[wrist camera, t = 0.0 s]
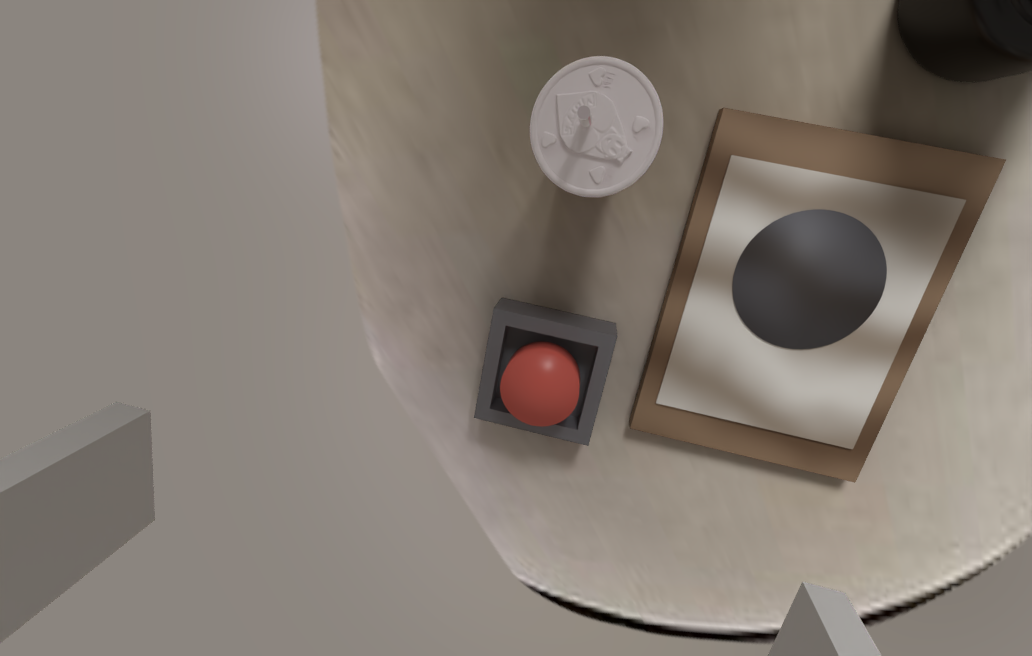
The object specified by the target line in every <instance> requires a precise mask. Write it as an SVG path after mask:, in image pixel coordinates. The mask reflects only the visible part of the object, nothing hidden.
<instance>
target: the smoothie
mask: <svg viewBox="0 0 1032 656" xmlns="http://www.w3.org/2000/svg"><path fill="white" fill-rule="evenodd" d="M662 134H663V112H662V106H661V103H660V99H659V97H658V94H657V92H656V90H655V88H654V87H653V85H652V83H651V82H650V81H649V79H648V78H647V77H646V76H645V75H644V74H643V73H642V72H641V71H640V70H639V69H637V68H636V67H635V66H633V65H631V64H630V63H628V62H626V61H623V60H621V59H618V58H614V57H608V56H592V57H587V58H583V59H579V60H577V61H574V62H572V63H570V64H568V65H566V66H565V67H563V68H562V69H560V70H559V71H558V72H557V73H555V74H554V75H553V76H552V77H551V78H550V79H549V80H548V82H547V83H546V84H545V85H544V87H543V88H542V90H541V92H540V93H539V95H538V97H537V99H536V102H535V104H534V107H533V110H532V115H531V121H530V140H531V146H532V150H533V153H534V156H535V158H536V161H537V163H538V165H539V166H540V168H541V169H542V171H543V172H544V174H545V175H546V176H547V177H548V178H549V179H550V180H551V181H552V182H553V183H554V184H556V185H557V186H558V187H560V188H562V189H563V190H565V191H566V192H569V193H572V194H575V195H578V196H581V197H598V198H599V197H604V196H608V195H612V194H616V193H618V192H620V191H622V190H624V189H626V188H628V187H630V186H631V185H632V184H634V183H635V182H636V181H637V180H638V179H639V178H640V177H641V176H642V175H644V174H645V172H646V171H647V169H648V168H649V166H650V165H651V163H652V162H653V160H654V159H655V156H656V154H657V152H658V149H659V146H660V143H661V139H662Z"/></svg>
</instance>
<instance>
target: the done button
mask: <svg viewBox="0 0 1032 656" xmlns="http://www.w3.org/2000/svg"><path fill="white" fill-rule="evenodd" d="M579 389H580V370H579V367H578V364H577V362H576V360H575V359H574V357H573V356H572V355H571V354H570V353H569V352H568V351H567V350H566V349H564V348H563V347H561V346H559V345H557V344H554V343H551V342H543V341H539V342H533V343H529V344H526V345H524V346H522V347H521V348H519V349H518V350H517V351H516V352H515V353H514V354H513V355H512V357H511V358H510V360H509V362H508V365H507V367H506V369H505V371H504V373H503V376H502V378H501V383H500V393H501V398H502V401H503V403H504V405H505V407H506V408H507V410H508V411H509V412H510V413H511V414H512V415H513V416H514V417H515V418H517V419H518V420H520V421H522V422H524V423H526V424H529V425H533V426H541V427H542V426H551V425H554V424H557V423H559V422H561V421H563V420H564V419H566V418H567V417H568V416H569V415H570V414H571V413H572V412H573V410H574V409H575V407H576V405H577V402H578V398H579Z"/></svg>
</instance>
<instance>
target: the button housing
mask: <svg viewBox="0 0 1032 656" xmlns="http://www.w3.org/2000/svg"><path fill="white" fill-rule="evenodd" d="M616 339H617V329H616V323H613V322H608V321H604V320H599V319H595V318H590V317H586V316H581V315H577V314H572V313H568V312H563V311H559V310H554V309H550V308H545V307H541V306H537V305H532V304H528V303H523V302H519V301H514V300H510V299H505V298H501V299H500V301H499V302H498V303H497V305H496V306H495V307H494V310H493V316H492V321H491V327H490V332H489V338H488V343H487V349H486V354H485V360H484V365H483V371H482V376H481V382H480V388H479V393H478V399H477V404H476V410H475V415H474V418H477V419H481V420H485V421H489V422H493V423H498V424H502V425H506V426H510V427H514V428H518V429H522V430H526V431H530V432H534V433H538V434H542V435H546V436H551V437H555V438H559V439H563V440H567V441H571V442H575V443H579V444H583V445H587V446H588V445H589V441H590V437H591V433H592V430H593V426H594V422H595V418H596V414H597V411H598V407H599V403H600V399H601V396H602V392H603V388H604V384H605V381H606V377H607V373H608V369H609V366H610V362H611V358H612V354H613V351H614V347H615V343H616ZM539 341H543V342H551V343H554V344H557V345H559V346H561V347H563V348H564V349H566V350H567V351H568V352H569V353H570V354H571V355H572V356H573V357H574V359H575V360H576V362H577V364H578V367H579V370H580V389H579V398H578V402H577V405H576V407H575V409H574V410H573V412H572V413H571V414H570V415H569V416H568V417H567V418H566V419H564V420H563V421H561V422H559V423H557V424H554V425H551V426H542V427H541V426H533V425H529V424H526V423H524V422H522V421H520V420H518V419H517V418H515V417H514V416H513V415H512V414H511V413H510V412H509V411H508V410H507V408H506V407H505V405H504V403H503V401H502V398H501V393H500V383H501V378H502V376H503V373H504V371H505V369H506V367H507V365H508V362H509V360H510V358H511V357H512V355H513V354H514V353H515V352H516V351H517V350H518V349H519V348H521V347H522V346H524V345H526V344H529V343H533V342H539Z"/></svg>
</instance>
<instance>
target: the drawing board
mask: <svg viewBox="0 0 1032 656" xmlns="http://www.w3.org/2000/svg"><path fill="white" fill-rule="evenodd" d="M1005 161H1006V160H1004V159H999V158H994V157H988V156H983V155H977V154H972V153H966V152H961V151H956V150H950V149H945V148H939V147H934V146H928V145H923V144H918V143H912V142H907V141H901V140H896V139H891V138H885V137H880V136H874V135H869V134H863V133H858V132H853V131H847V130H842V129H836V128H831V127H825V126H820V125H815V124H809V123H804V122H798V121H793V120H787V119H782V118H777V117H771V116H766V115H760V114H755V113H750V112H744V111H739V110H733V109H728V108H722V109H720V110H719V113H718V116H717V120H716V123H715V127H714V130H713V134H712V137H711V140H710V144H709V147H708V151H707V154H706V158H705V161H704V165H703V168H702V172H701V175H700V178H699V182H698V185H697V189H696V192H695V196H694V199H693V203H692V206H691V209H690V213H689V216H688V220H687V223H686V227H685V230H684V234H683V237H682V241H681V244H680V247H679V251H678V254H677V258H676V261H675V265H674V268H673V272H672V275H671V278H670V282H669V285H668V289H667V292H666V296H665V299H664V303H663V306H662V310H661V313H660V316H659V320H658V323H657V327H656V330H655V334H654V337H653V341H652V344H651V348H650V351H649V354H648V358H647V361H646V365H645V368H644V372H643V375H642V379H641V382H640V385H639V389H638V392H637V396H636V399H635V403H634V406H633V410H632V413H631V417H630V420H629V423H630V428H631V429H635V430H639V431H643V432H647V433H651V434H656V435H660V436H664V437H668V438H672V439H676V440H681V441H685V442H689V443H693V444H697V445H701V446H705V447H710V448H714V449H718V450H722V451H726V452H730V453H735V454H739V455H743V456H747V457H751V458H755V459H760V460H764V461H768V462H772V463H776V464H780V465H784V466H789V467H793V468H797V469H801V470H805V471H809V472H814V473H818V474H822V475H826V476H830V477H834V478H839V479H843V480H847V481H851V482H856V480H857V478H858V476H859V473H860V471H861V469H862V467H863V465H864V463H865V461H866V458H867V456H868V454H869V452H870V450H871V448H872V446H873V443H874V441H875V439H876V437H877V435H878V433H879V431H880V428H881V426H882V424H883V422H884V420H885V418H886V416H887V414H888V411H889V409H890V407H891V405H892V403H893V401H894V399H895V396H896V394H897V392H898V390H899V388H900V386H901V384H902V381H903V379H904V377H905V375H906V373H907V371H908V369H909V367H910V364H911V362H912V360H913V358H914V356H915V354H916V352H917V349H918V347H919V345H920V343H921V341H922V339H923V337H924V334H925V332H926V330H927V328H928V326H929V324H930V322H931V319H932V317H933V315H934V313H935V311H936V309H937V307H938V305H939V302H940V300H941V298H942V296H943V294H944V292H945V290H946V287H947V285H948V283H949V281H950V279H951V277H952V275H953V272H954V270H955V268H956V266H957V264H958V262H959V260H960V258H961V255H962V253H963V251H964V249H965V247H966V245H967V243H968V240H969V238H970V236H971V234H972V232H973V230H974V228H975V225H976V223H977V221H978V219H979V217H980V215H981V213H982V210H983V208H984V206H985V204H986V202H987V200H988V198H989V196H990V193H991V191H992V189H993V187H994V185H995V183H996V181H997V178H998V176H999V174H1000V172H1001V170H1002V168H1003V166H1004V163H1005Z"/></svg>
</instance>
